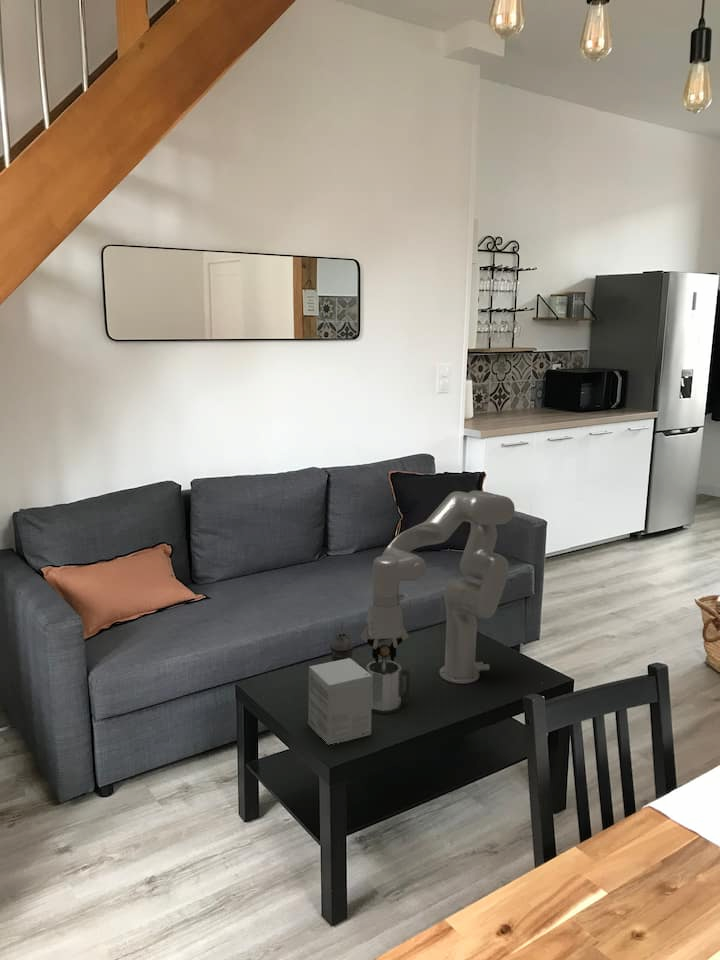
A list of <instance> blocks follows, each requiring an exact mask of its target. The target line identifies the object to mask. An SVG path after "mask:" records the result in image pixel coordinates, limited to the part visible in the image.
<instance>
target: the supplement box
mask: <svg viewBox="0 0 720 960" xmlns="http://www.w3.org/2000/svg"><path fill="white" fill-rule="evenodd" d="M371 708H372V675H370V674H369V673H368V672H367V671H366V669H365V668H363V667H362V666H360V665H359V663H357V662H356V661H354V660H353V659H352V658H347V659H343V660H338V661H333V660H332V661H329V662H325V663H324V662H323V663H319V664H315V665H309V666H308V714H307V715H308V723H307V724H308V726H309V727H310V728H311V729H312V730H313V731H314V732H315V733H316V735H317V736H318V737H321V738H322V739H323V740H324V741H325V742H326V743H325V742H324V741H323V740H322V739H321V738H320V739H321V740H322V741H323V742H324V743H325V744H326V745H327V744H328V745H330V744H333V745H335V744H334V743H337V744H341V743H345V742H349V741H352V740H355V739H359V738H363V737H367V736H371V734H372V712H371ZM340 742H341V743H340ZM328 745H327V746H328ZM330 746H331V745H330Z"/></svg>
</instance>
